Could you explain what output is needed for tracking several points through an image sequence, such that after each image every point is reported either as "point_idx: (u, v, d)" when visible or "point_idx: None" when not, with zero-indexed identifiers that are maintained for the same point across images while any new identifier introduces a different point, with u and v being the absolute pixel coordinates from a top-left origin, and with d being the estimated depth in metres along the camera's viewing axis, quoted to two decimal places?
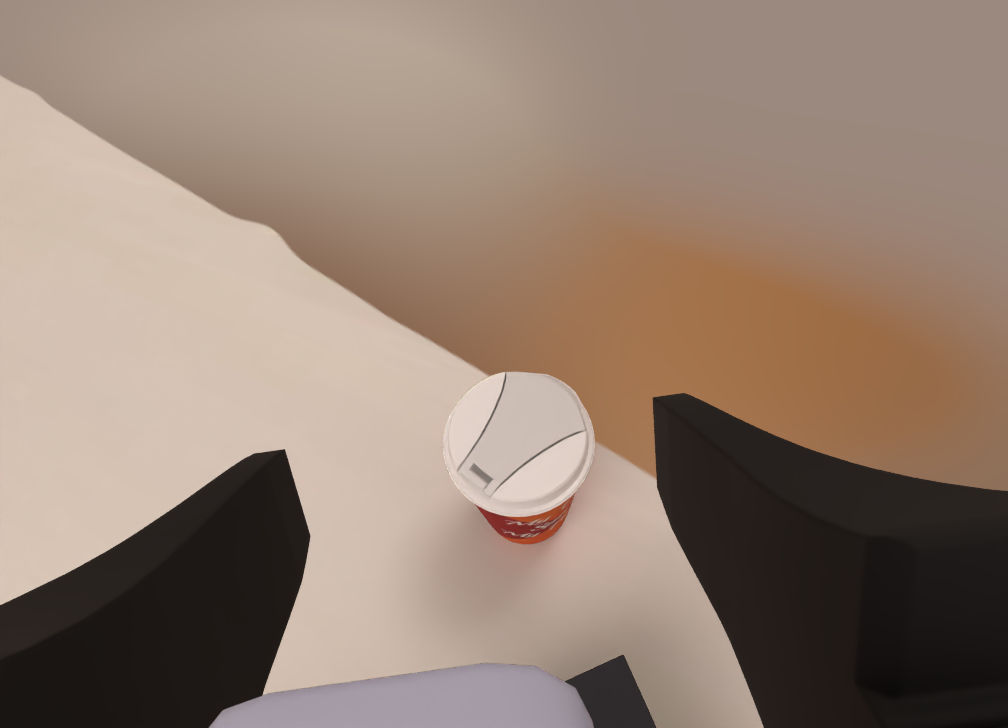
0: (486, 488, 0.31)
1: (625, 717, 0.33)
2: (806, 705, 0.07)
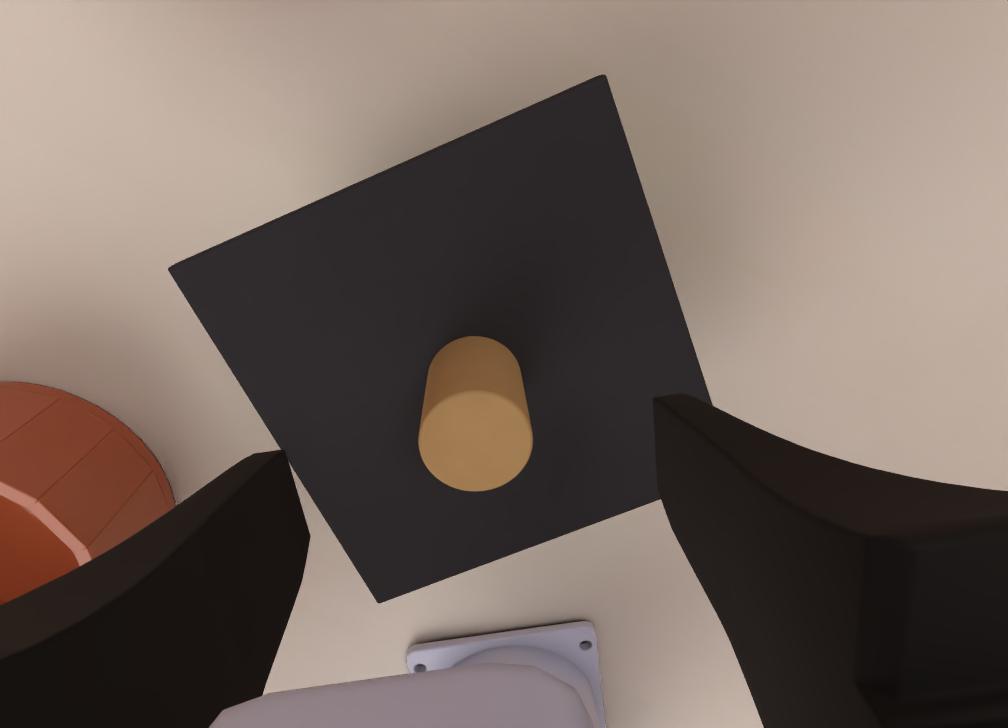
0: None
1: (593, 210, 0.15)
2: (806, 705, 0.07)
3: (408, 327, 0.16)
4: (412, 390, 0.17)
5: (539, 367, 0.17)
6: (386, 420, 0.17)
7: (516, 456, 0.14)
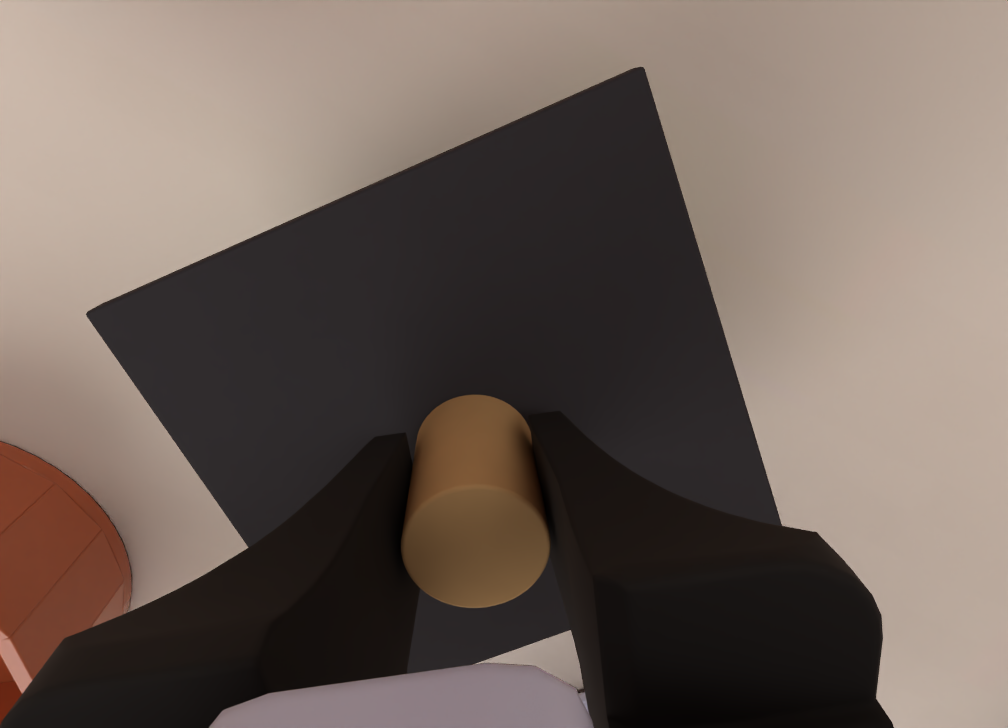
0: None
1: (625, 239, 0.12)
2: None
3: (391, 383, 0.13)
4: None
5: None
6: None
7: (529, 565, 0.11)
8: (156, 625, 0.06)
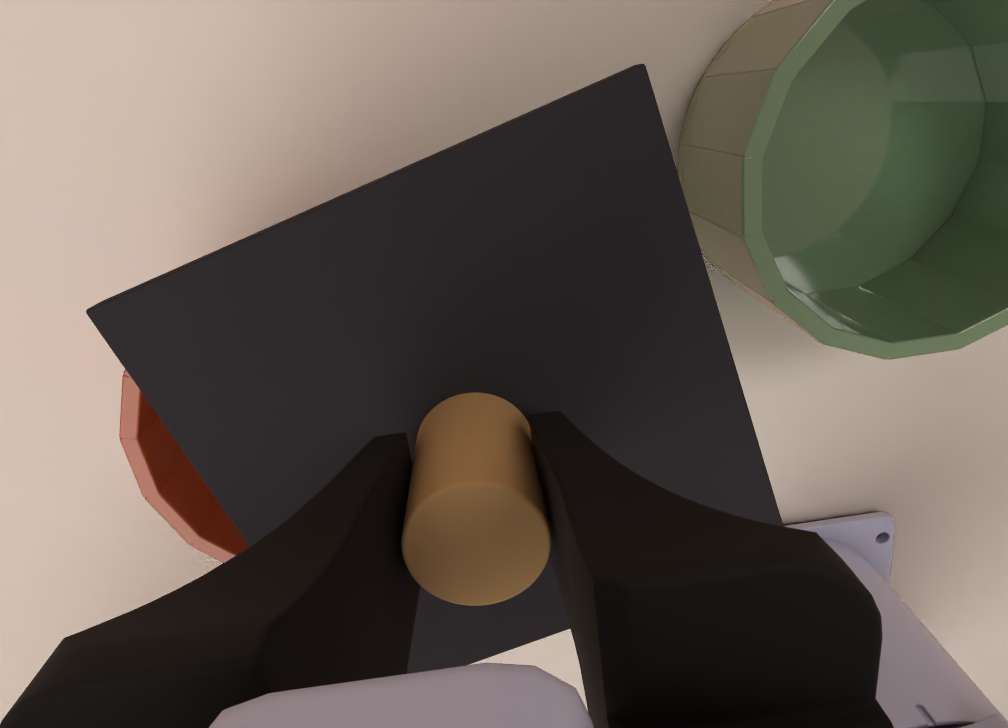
0: None
1: (625, 237, 0.12)
2: None
3: (391, 381, 0.13)
4: None
5: None
6: None
7: (529, 563, 0.11)
8: (155, 625, 0.06)
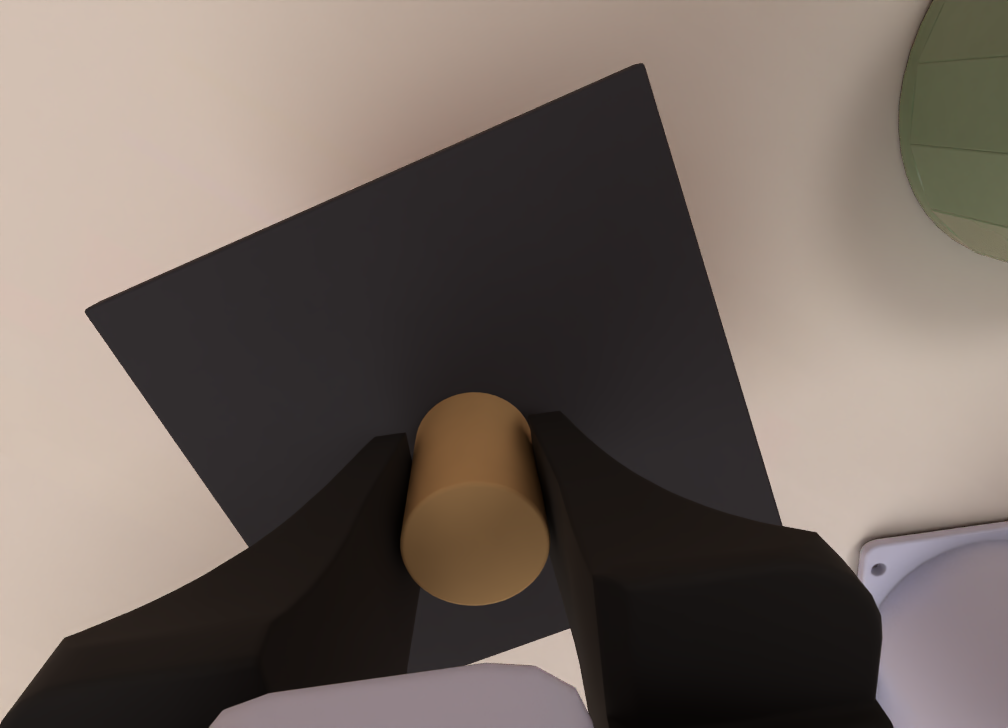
0: None
1: (625, 236, 0.12)
2: None
3: (390, 381, 0.13)
4: None
5: None
6: None
7: (528, 563, 0.11)
8: (156, 625, 0.06)
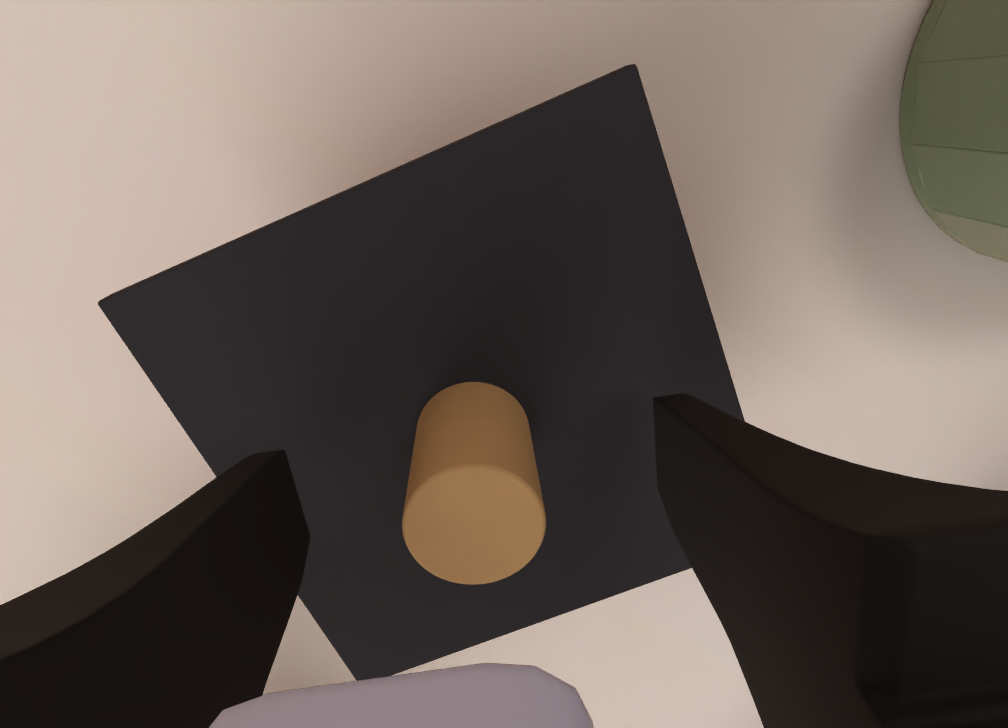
0: None
1: (618, 231, 0.13)
2: (807, 705, 0.07)
3: (392, 371, 0.13)
4: (398, 444, 0.14)
5: (551, 417, 0.14)
6: (367, 480, 0.14)
7: (525, 543, 0.11)
8: None
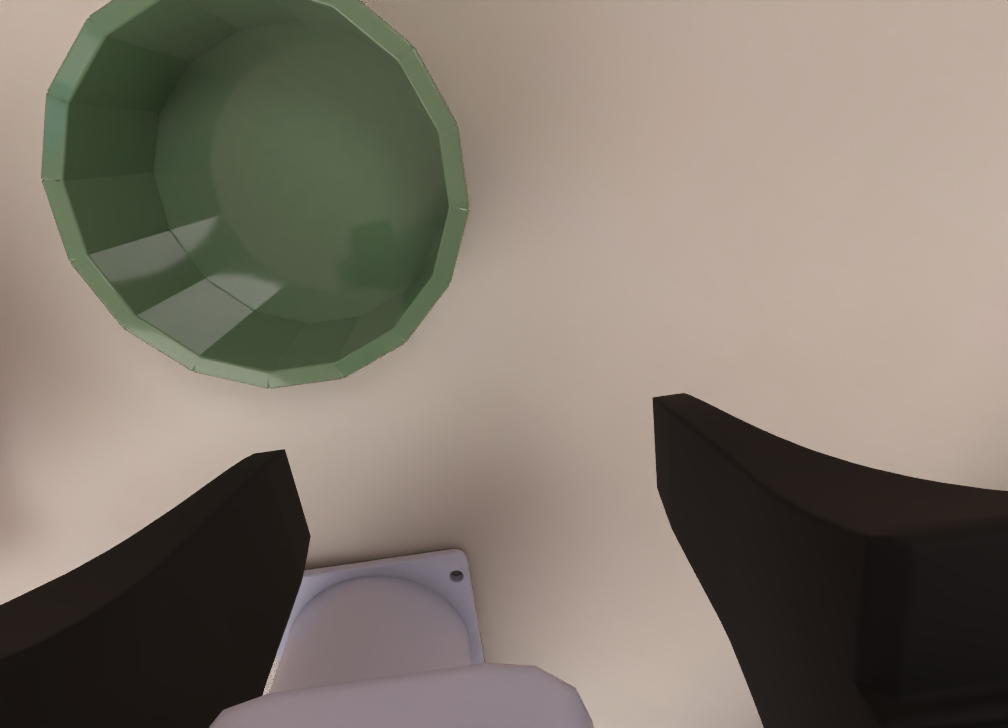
0: None
1: None
2: (806, 705, 0.07)
3: None
4: None
5: None
6: None
7: None
8: None
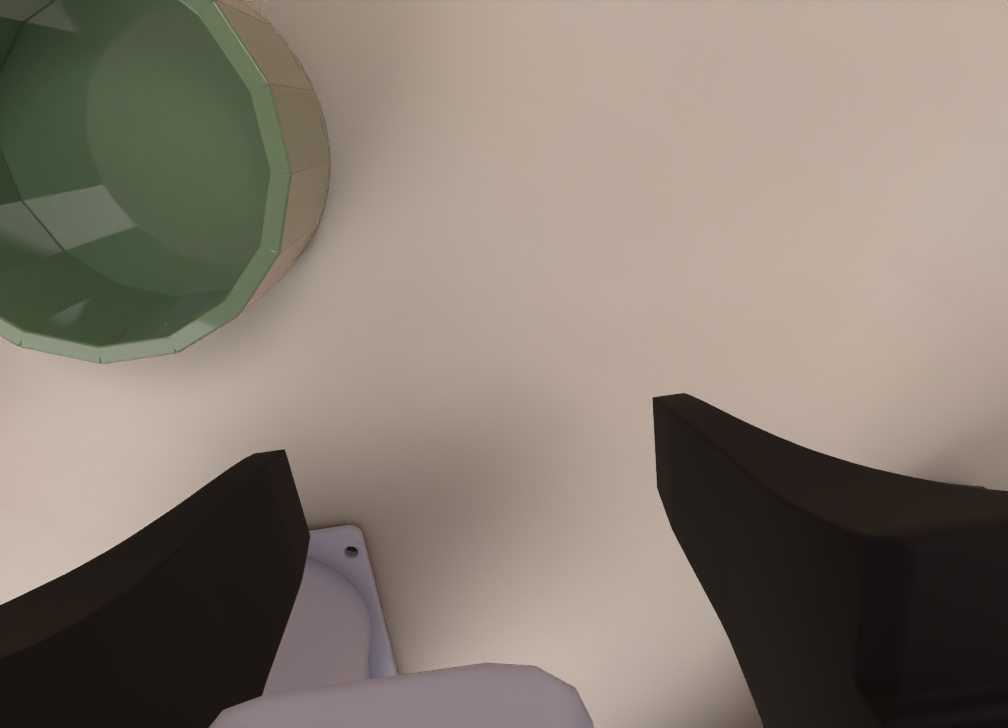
0: None
1: None
2: (806, 705, 0.07)
3: None
4: None
5: None
6: None
7: None
8: None
